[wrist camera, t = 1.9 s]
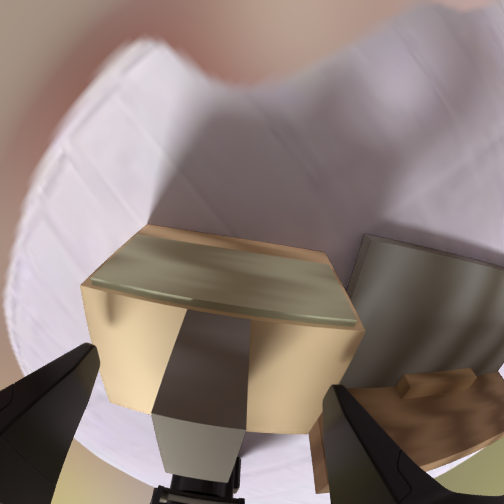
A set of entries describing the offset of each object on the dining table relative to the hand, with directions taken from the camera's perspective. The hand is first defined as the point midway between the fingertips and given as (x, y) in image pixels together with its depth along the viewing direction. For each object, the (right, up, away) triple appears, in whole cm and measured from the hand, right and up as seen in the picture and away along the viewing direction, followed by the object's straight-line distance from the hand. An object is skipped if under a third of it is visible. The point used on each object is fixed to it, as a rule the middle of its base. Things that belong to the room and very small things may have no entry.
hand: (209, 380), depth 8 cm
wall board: (+18, -3, +9) cm, 21 cm away
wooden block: (0, +2, +8) cm, 8 cm away
